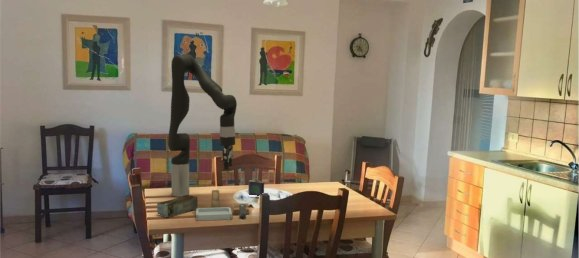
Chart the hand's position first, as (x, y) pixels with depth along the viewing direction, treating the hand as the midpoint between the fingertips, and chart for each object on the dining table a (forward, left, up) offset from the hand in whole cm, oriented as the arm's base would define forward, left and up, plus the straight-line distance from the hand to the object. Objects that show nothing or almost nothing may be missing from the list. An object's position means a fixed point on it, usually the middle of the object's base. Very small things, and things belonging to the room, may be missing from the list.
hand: (228, 168), depth 233 cm
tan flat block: (+11, +6, -20) cm, 23 cm away
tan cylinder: (+5, -6, -19) cm, 21 cm away
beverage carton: (+8, -24, -20) cm, 32 cm away
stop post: (+21, +6, -19) cm, 29 cm away
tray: (+17, -7, -19) cm, 27 cm away
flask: (-13, +16, -19) cm, 28 cm away
